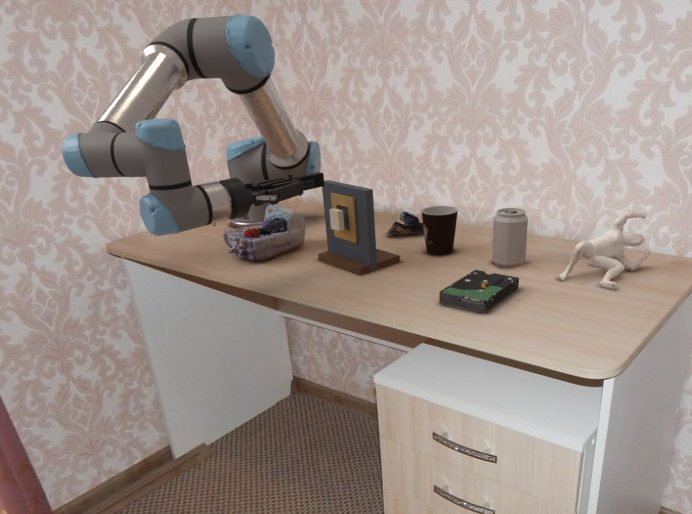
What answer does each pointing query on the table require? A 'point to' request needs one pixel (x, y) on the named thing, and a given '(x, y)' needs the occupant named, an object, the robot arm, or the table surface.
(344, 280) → the table surface
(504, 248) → the can
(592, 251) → the person figurine
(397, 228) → the snack package
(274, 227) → the cell model
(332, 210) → the switch paddle
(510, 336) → the table surface
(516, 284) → the disk drive
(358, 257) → the switch wall
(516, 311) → the table surface
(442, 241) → the coffee mug
